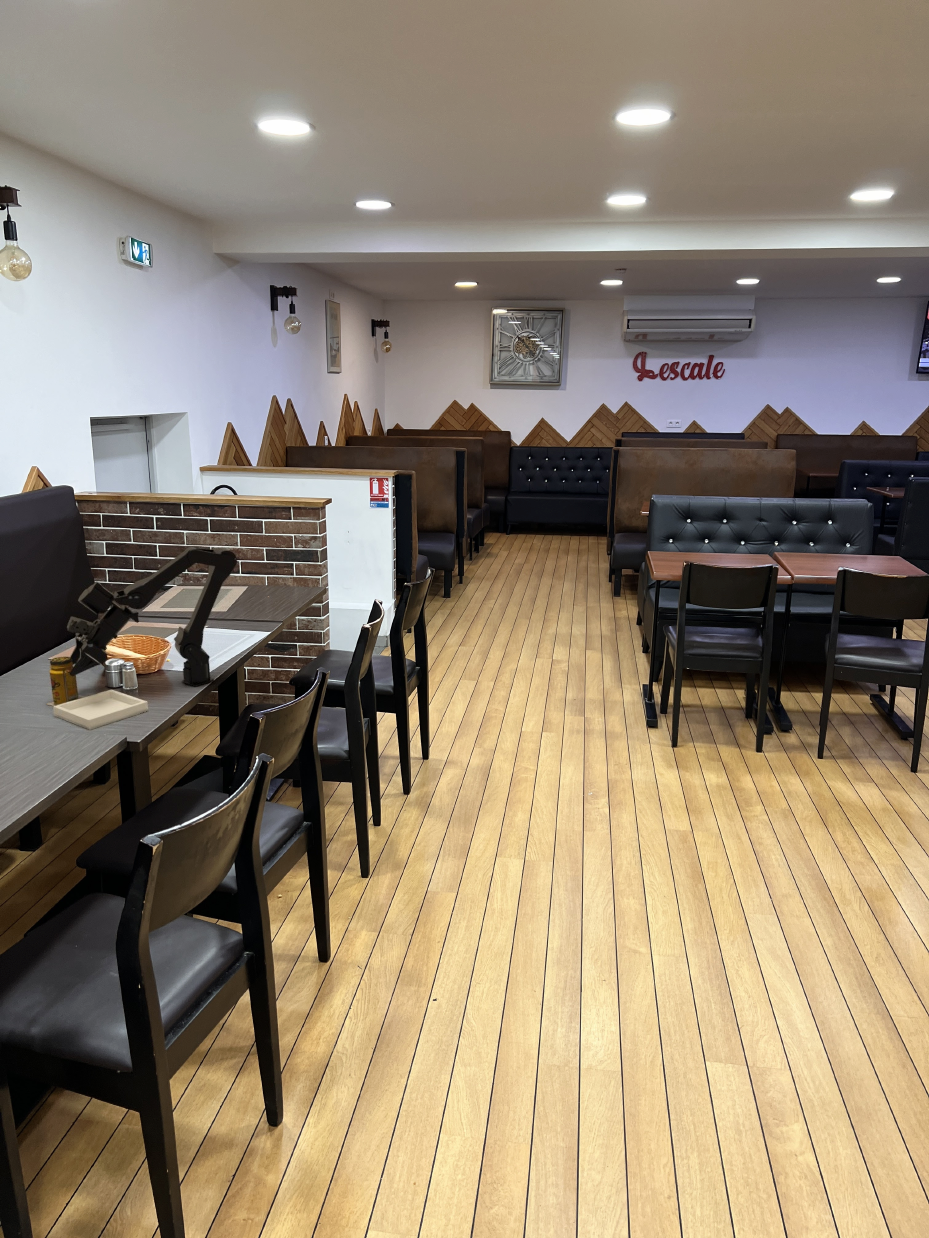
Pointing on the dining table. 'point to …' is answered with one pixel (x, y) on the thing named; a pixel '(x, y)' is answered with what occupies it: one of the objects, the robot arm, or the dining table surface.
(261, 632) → the dining table surface
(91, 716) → the tray
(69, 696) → the condiment
